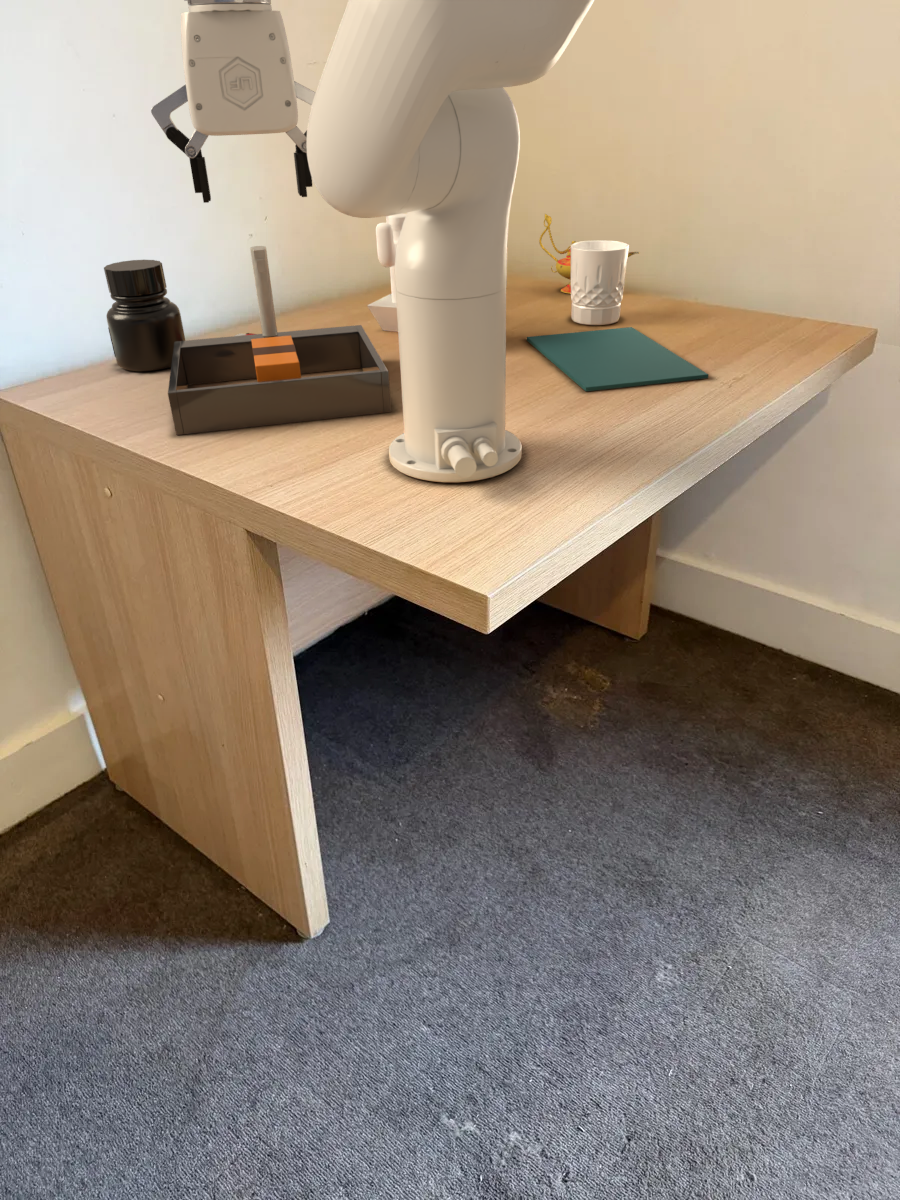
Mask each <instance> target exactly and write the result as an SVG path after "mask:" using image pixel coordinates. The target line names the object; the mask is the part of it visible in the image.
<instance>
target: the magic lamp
mask: <svg viewBox="0 0 900 1200" xmlns="http://www.w3.org/2000/svg"><path fill="white" fill-rule="evenodd" d="M552 219H553V218H552V216H550V215H548V214H547V213H544V220H543V226H544V227H545V229H544V230H543V231H542V232H541V234H540V236H539V239H538V240H539V241H538V242H539V246H540V248H541V249H542V250H543V252H545V253H546V254H547V255H548V256H550V257H551V258H552V259H553V260H554V261H555V269H556V270H555V271H554V270H553V266H551V267H550V269H551V272H552V273H554V274H555V273H558V274H559V275H560V276H561V277H563V278H565V279H567V280H570V281H569V282H568V284H567V285H566V286H564V287H562V288H561V289H560V292H562V293H564V294H570V295H571V245H572V244H574V243H577V241H576V240H572V241H571V244H570V245H569V246H568V247H567V248H566V249H564V250H559V249H558V248H557V246H556V244H555V243H554V239H553V235H552V231H551V227H550V226H551V224H552V223H553V222H552V221H553V220H552ZM546 223H547V225H546ZM547 231H548V235H549V239H550V243H551V245H552V248H553V249H554V251H555V252H556V253H557V254H560V255H565V254H566V255H565V257H562V258H560V259H557V257H556V256H554V255H553V254H552V253H551V252H550V251H548V250H547V249H546V248H545V247H544V245H543V243H542V239H543V237H544V235H545V234H546V232H547ZM638 254H641V252H640V251H630V252H628V258H630V257H631V256H633V255H638Z"/></svg>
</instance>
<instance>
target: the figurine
mask: <svg viewBox="0 0 900 1200" xmlns="http://www.w3.org/2000/svg"><path fill="white" fill-rule="evenodd" d="M406 214H407V213H402V214H396V215H391V216H385V222H379V223H377V224H376V226H375V236H376V237H375V240H376V253H377V259H378V262H379V264H380V265H381V266H382V267H384V268H389V273H390V274H389V275H390V291H391V293H389V294H387V295H385V296H383V297H381V298H379V299H377V300H375V301H373V302H370V303H369V304H367V305H366V306H367V309H368V310H369V311H370V313H371V315H372V316H373V317H374V319H375V321H376V322H377V324H378V326H379V327H380V328H381V331H383V332H384V331H386V332H397V333H398V321H397V304H396V284H395V257H396V250H397V244H398V240H399V236H400V232H401V229H402V226H403V223H404V220H405V217H406Z"/></svg>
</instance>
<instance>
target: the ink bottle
mask: <svg viewBox="0 0 900 1200" xmlns="http://www.w3.org/2000/svg"><path fill="white" fill-rule="evenodd" d="M103 271H104V275H105V279H106V284H107V288H108V292H109V294H110V298H111V299H112V300H113V301H115V302H113V303H112V304H111V308H109V309H108V310H107V313H106V323H107V326H108V328H107V329H108V334H109V337H110V343H111V346H112V350H113V355H114V358H115V360H116V365H117V366H118V367H119V368H122V369H123V370H127V371H133V372H151V371H152V372H153V371H160V370H164V369H168V368H171V364H172V357H173V349H174V342H176V341H186V337H185V330H184V325H183V319H182V315H181V311H180V309H179V307H178V305H177V304H176V303H175V302H173V301H171V300H170V299H169V298H168V297H166V296H167V294H168V289H167V283H166V277H165V272H164V267H163V263H162V262H161V261H160V260H157V259H131V260H122V261H117V262H112V263H110V264H107V265H105V266H103Z"/></svg>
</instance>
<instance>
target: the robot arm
mask: <svg viewBox="0 0 900 1200" xmlns="http://www.w3.org/2000/svg"><path fill="white" fill-rule="evenodd" d="M183 1H184V2H187V5H188V11H186V12H185V11H184V12H181V13H180V40H181V55H182V56H181V57H182V64H183V73H184V81H185V84H184V85H182V86H181V87H179V88H178V89H176V90H174V91H173V92H172V93H170V94H169V95H167V96H166V97H165V98H164V99H162V100H160V101H159V102H158V103H156V104H155V105H153V106H152V107H151V110H150V112H151V115H152V117H153V118H154V119H155V121H156V122H157V124H158V126H159V127H160V129H161V130H162V131H163V133H164V134H165V136H166V138H167V139H168V140H169V141H170V142H171V143H172V144H173V145H174V146H175V147H177V149H179V150H180V152H182V153H184V155H185V156H186V157H188V158H189V166H190V170H191V176H192V177H191V178H192V183H193V189H194V193H195V194H201V196H202V201H203V204H204V203H205V204H206V203H207V204H208V203H210V202H211V201H212V197H211V189H210V183H209V177H208V170H207V164H206V163H207V162H206V158H205V156H203V154H202V148H203V146H204V145H205V142H206V141H207V140H208V138H209V137H210V136H211V137H212V136H214V137H216V136H217V137H218V136H219V137H220V136H224V137H225V136H247V135H248V136H249V135H268V134H282V133H285V134H286V135H287V136H288V137H289V138H290V139H291V140H292V142H293V143H294V144H295V152H293V158H294V159H293V160H294V168H295V178H296V179H295V180H296V187H297V194H298V196H300V197H301V198H308V190H307V188H311V187H312V188H313V184H314V185H315V188H316V190H317V191H318V193H319V195H320V196H321V197H322V199H323V200H324V201H325V202H326V203H327V204H328V205H329V206H330V207H332V208H333V209H334V210H336V211H337V212H340V213H341V214H344V215H346V216H350V217H352V218H358V219H373V218H381V217H382V218H383V217H386V216H391V215H396V214H402V213H403V214H406V217H405V220H404V223H403V226H402V229H401V232H400V236H399V240H398V244H397V250H396V257H395V284H396V304H397V321H398V332H397V335H398V350H399V351H398V352H399V353H398V355H399V367H400V368H399V369H400V370H399V371H400V387H401V402H402V403H401V404H402V419H403V432H402V433H401V434H400V435H398V436H396V437H395V438H394V439H393V440H392V441H391V443H390V444H389V446H388V459H389V462H390V464H391V466H392V467H393V468H394V469H396V470H397V471H398V472H400V473H401V474H404V475H406V476H409V477H412V478H415V479H418V480H423V481H429V482H437V483H466V482H475V481H481V480H486V479H489V478H494V477H496V476H499V475H502V474H504V473H506V472H508V471H510V470H512V469H513V468H514V467H515V466H517V465H518V464H519V462H520V461H521V459H522V455H523V446H522V442H521V439H520V438H519V437H517V436H516V434H514V433H513V432H510V431H509V430H507V429H506V411H507V410H506V409H507V408H506V407H507V406H506V404H507V403H506V399H507V398H506V397H507V396H506V395H507V394H506V393H507V386H506V385H507V384H506V383H507V286H508V285H507V283H508V240H509V239H508V238H509V224H510V214H511V206H512V199H513V193H514V189H515V184H516V183H515V182H516V179H517V172H518V166H519V161H520V151H521V129H520V121H519V117H518V113H517V110H516V106H515V105H514V103H513V100H512V99H511V97H510V95H509V93H508V92H507V91H506V90H505V88H510V87H511V88H512V87H517V86H523V85H527V84H530V83H533V82H535V81H537V80H539V79H540V78H542V77H544V76H546V75H547V74H548V73H549V72H550V71H551V70H552V69H553V68H554V66H555V65H556V64H557V62H558V61H559V60H560V59H561V57H562V55H563V54H564V52H565V50H566V49H567V47H568V45H570V42H571V40H572V39H573V38H574V36H575V34H576V33H577V30H578V29H579V27H580V26H581V24H582V22H583V20H584V19H585V17H586V16H587V14H588V12H589V11H590V9H591V7H592V6H593V4H594V2H595V0H347V3H346V6H345V9H344V12H343V15H342V17H341V20H340V23H339V26H338V28H337V31H336V33H335V37H334V40H333V42H332V45H331V48H330V51H329V52H328V53H329V54H328V56H327V59H326V62H325V65H324V67H323V70H322V72H321V76H320V78H319V81H318V83H317V87H316V90H315V91H314V90H312V89H310V88H308V87H306V86H304V85H303V84H301V83H299V82H297V81H296V80H295V78H294V71H293V65H292V64H293V63H292V57H291V52H290V47H289V42H288V41H289V40H288V37H287V36H288V35H287V31H286V28H285V24H284V20H283V16H282V13H281V10H273V7H272V0H183ZM297 99H299V100H300V101H302V102H304V103H307V104H308V105H310V106H311V107H310V111H309V116H308V120H307V128H306V130H305V132H302V130H301V129H300V128H299V127H298V126H297V125H298V123H299V122H298V121H299V111H298V110H299V109H298V100H297ZM186 103H187V104H188V110H189V116H190V120H191V124H192V126H193V129H194V130H193V133H192V134H191V136H190V138H189V137H188V136H187V135H185V134H184V133H183V131H181V130H180V129H178V127H177V126H176V125H175V123H174V121H173V120H172V118H171V114H172V113H173V112H174V111H176V110H178V109H179V108H180V107H182V106H184V104H186Z"/></svg>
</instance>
